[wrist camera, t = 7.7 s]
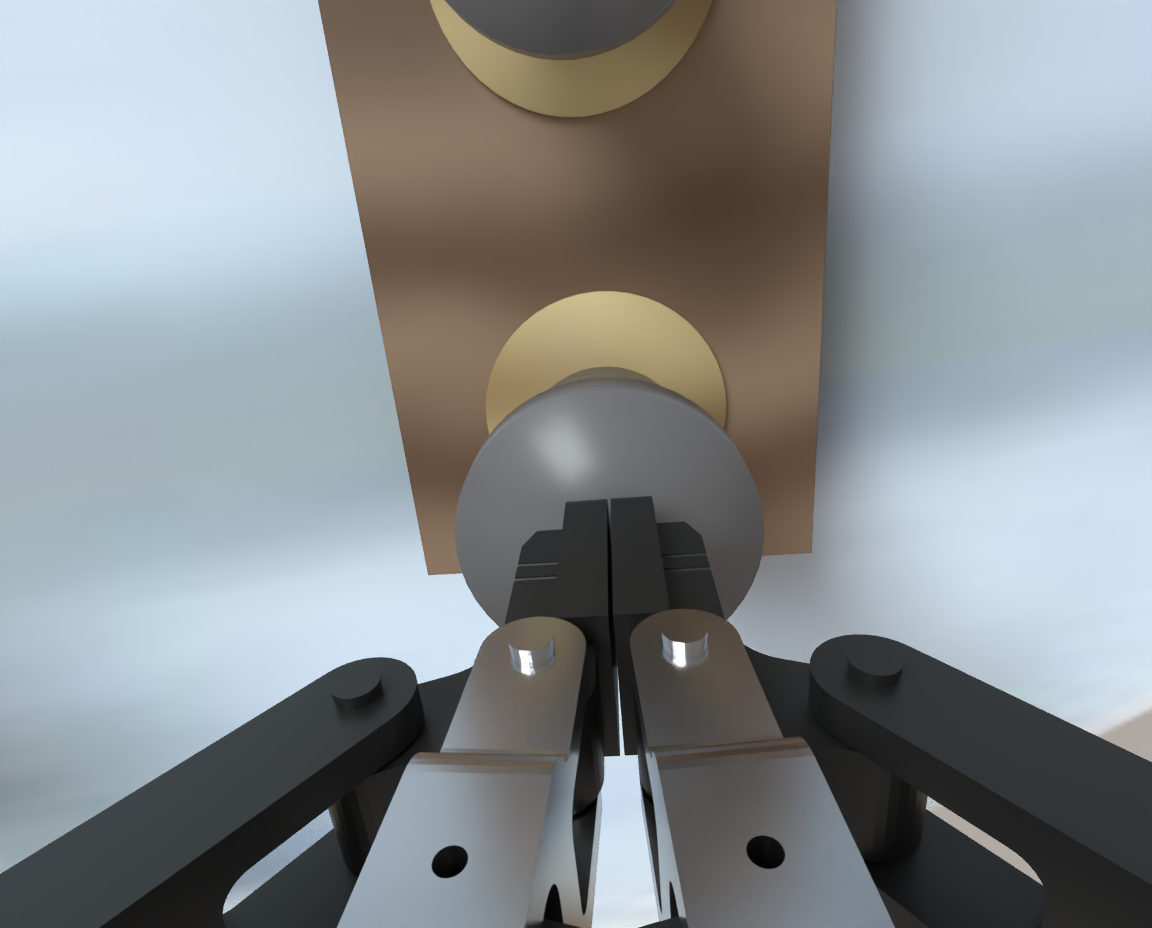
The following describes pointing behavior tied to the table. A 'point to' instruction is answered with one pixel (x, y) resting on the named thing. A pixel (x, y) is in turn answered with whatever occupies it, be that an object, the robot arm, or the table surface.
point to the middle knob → (561, 24)
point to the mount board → (594, 227)
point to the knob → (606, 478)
